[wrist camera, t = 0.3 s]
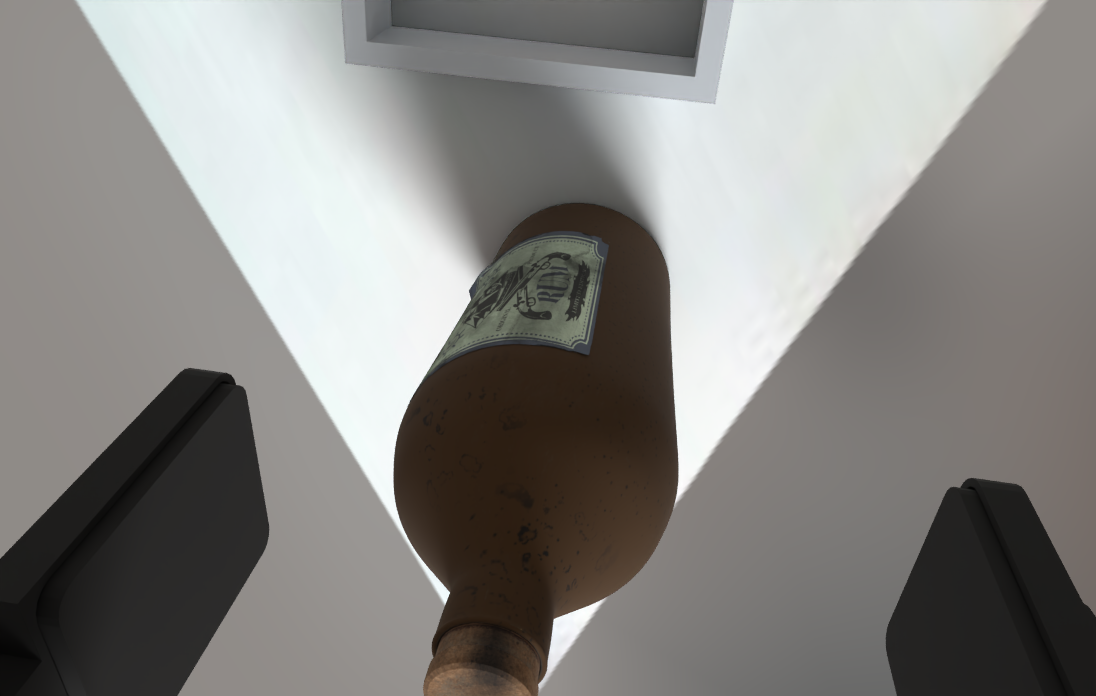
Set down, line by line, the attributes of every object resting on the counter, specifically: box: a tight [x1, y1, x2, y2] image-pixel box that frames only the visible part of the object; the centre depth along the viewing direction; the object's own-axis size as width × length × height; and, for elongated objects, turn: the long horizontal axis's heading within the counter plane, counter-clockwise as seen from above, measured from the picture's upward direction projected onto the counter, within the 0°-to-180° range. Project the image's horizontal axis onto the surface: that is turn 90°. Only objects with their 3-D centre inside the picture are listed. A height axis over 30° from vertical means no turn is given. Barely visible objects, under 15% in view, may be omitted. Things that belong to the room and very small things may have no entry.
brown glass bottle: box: [394, 203, 678, 696], centre depth 33 cm, size 11×11×25 cm
